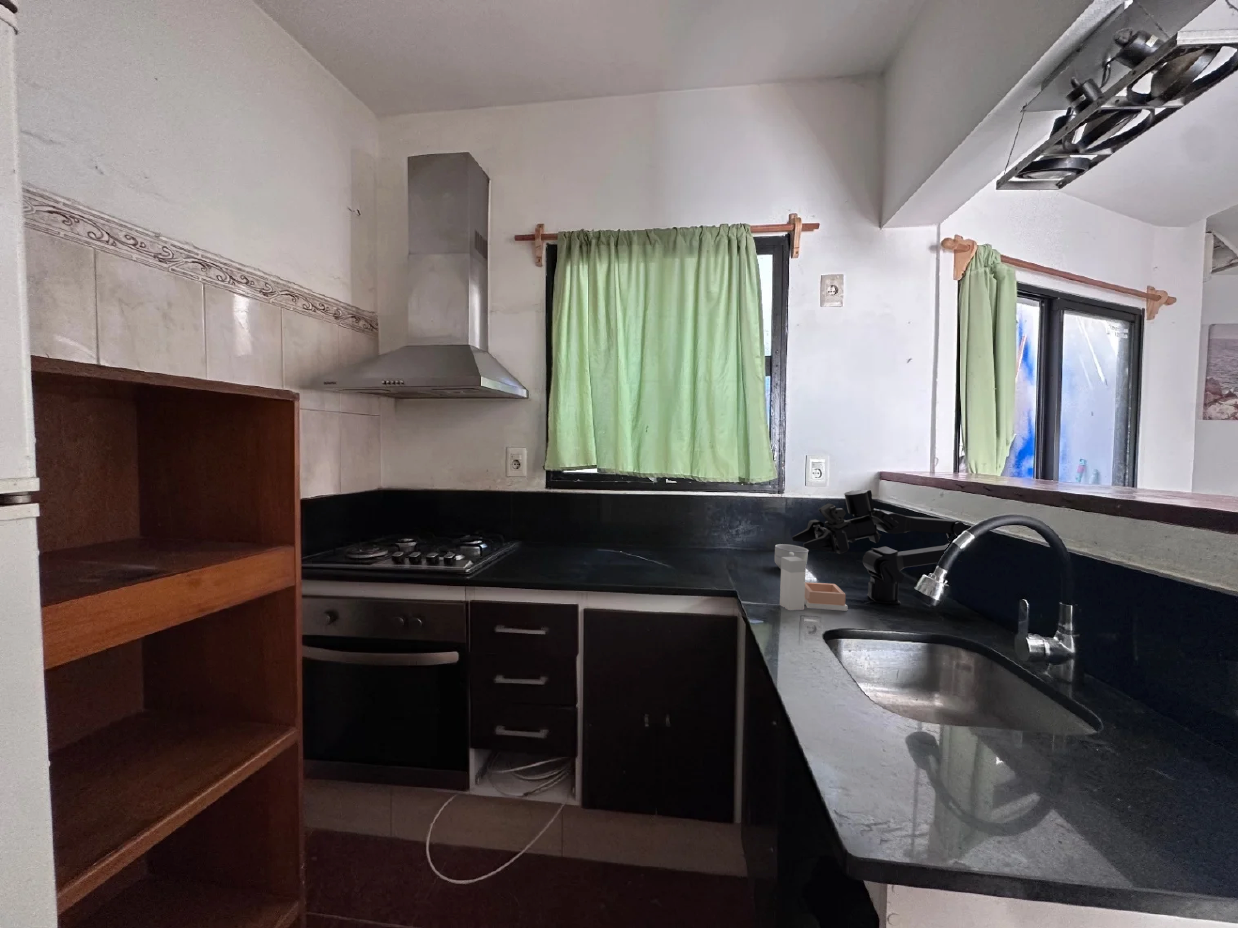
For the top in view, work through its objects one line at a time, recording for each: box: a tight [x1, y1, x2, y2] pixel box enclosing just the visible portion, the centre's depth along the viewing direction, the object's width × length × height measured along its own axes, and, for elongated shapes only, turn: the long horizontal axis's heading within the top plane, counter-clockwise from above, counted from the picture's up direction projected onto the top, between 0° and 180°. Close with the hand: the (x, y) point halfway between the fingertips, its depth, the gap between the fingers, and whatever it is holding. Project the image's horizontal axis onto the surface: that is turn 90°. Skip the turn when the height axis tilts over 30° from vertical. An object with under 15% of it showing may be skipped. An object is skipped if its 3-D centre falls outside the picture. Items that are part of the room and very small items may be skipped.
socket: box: [804, 581, 849, 612], centre depth 127 cm, size 10×10×4 cm
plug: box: [779, 557, 807, 611], centre depth 124 cm, size 4×4×13 cm
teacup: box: [774, 543, 809, 570], centre depth 159 cm, size 14×11×8 cm
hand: (797, 542), depth 130 cm, fingers open, 9 cm apart
